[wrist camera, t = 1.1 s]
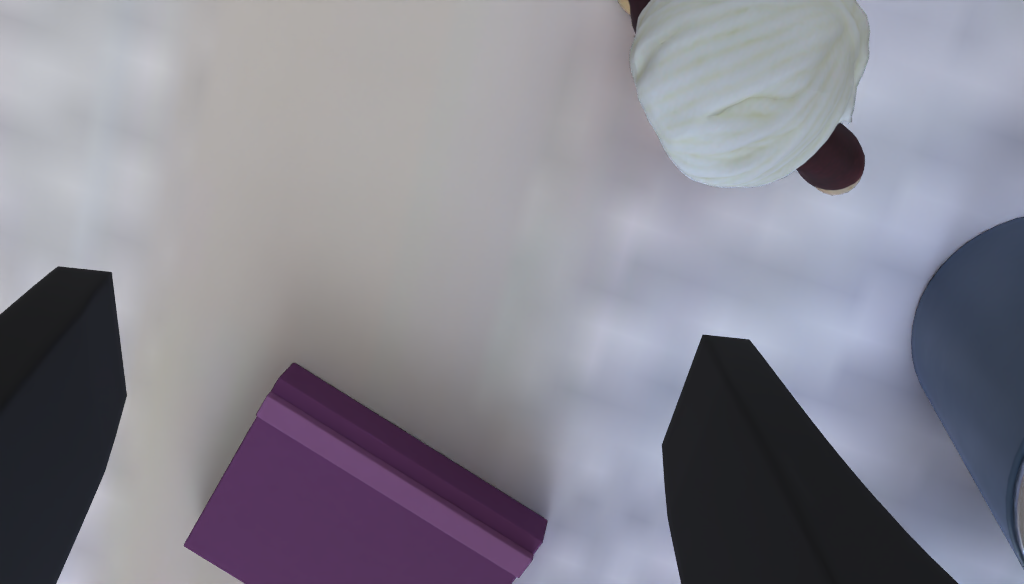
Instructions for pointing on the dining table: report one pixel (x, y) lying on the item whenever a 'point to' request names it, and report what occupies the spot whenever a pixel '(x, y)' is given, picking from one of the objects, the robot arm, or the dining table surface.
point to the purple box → (355, 502)
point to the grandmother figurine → (753, 87)
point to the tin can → (980, 365)
